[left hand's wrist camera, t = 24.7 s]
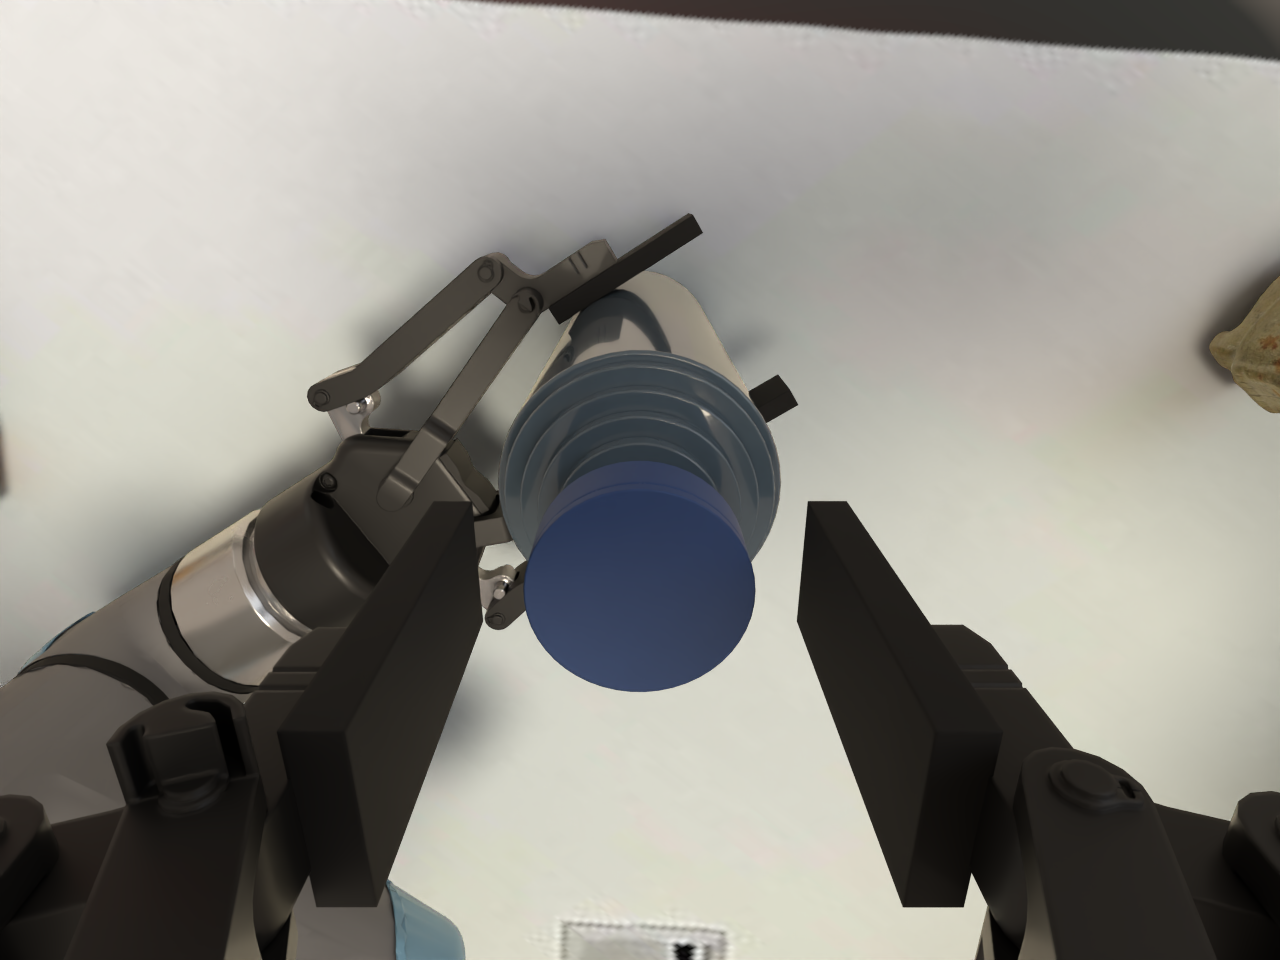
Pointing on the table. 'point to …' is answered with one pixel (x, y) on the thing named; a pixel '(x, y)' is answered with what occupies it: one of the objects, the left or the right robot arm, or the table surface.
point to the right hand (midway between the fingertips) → (742, 309)
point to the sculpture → (1255, 350)
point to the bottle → (640, 410)
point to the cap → (639, 577)
